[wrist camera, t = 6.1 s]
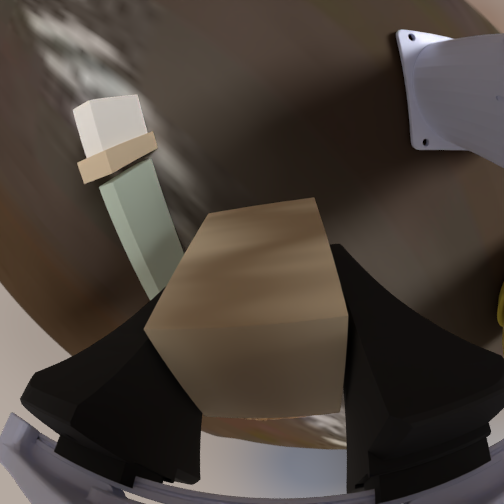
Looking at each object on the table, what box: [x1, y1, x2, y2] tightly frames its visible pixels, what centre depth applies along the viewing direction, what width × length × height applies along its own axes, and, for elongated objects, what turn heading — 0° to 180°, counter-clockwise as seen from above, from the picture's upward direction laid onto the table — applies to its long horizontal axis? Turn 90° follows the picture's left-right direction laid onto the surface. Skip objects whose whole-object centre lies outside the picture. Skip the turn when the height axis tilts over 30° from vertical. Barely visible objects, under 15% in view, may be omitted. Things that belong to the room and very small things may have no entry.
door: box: [99, 159, 184, 301], centre depth 17 cm, size 2×10×5 cm, turn 12°
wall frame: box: [73, 95, 158, 184], centre depth 17 cm, size 2×21×6 cm, turn 12°
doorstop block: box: [144, 197, 348, 418], centre depth 8 cm, size 4×4×6 cm
